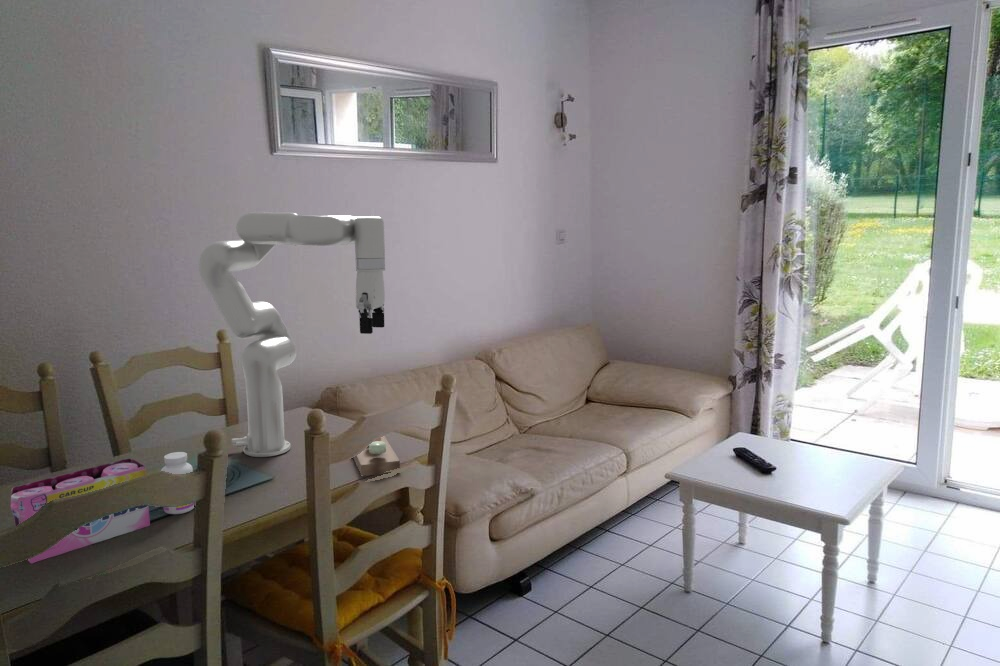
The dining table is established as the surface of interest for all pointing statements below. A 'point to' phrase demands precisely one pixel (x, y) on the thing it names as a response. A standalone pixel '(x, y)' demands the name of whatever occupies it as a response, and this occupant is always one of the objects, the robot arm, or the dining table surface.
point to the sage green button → (377, 447)
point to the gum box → (76, 483)
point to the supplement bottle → (177, 466)
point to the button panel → (377, 461)
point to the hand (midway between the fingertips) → (372, 330)
